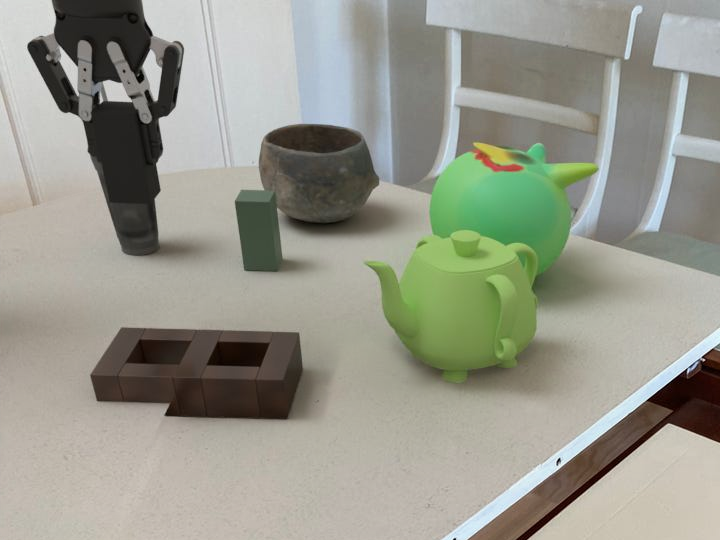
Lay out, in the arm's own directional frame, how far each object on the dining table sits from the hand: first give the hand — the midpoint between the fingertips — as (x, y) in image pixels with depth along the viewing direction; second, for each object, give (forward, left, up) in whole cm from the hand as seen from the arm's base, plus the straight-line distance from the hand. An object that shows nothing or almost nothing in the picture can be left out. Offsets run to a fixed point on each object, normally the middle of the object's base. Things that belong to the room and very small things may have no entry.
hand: (128, 161), depth 94 cm
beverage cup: (-8, +22, -17) cm, 29 cm away
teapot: (+32, -6, -17) cm, 37 cm away
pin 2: (+8, +18, -17) cm, 26 cm away
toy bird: (+37, +17, -17) cm, 44 cm away
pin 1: (0, 0, -3) cm, 3 cm away
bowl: (+13, +35, -17) cm, 41 cm away
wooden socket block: (+8, -14, -17) cm, 23 cm away
